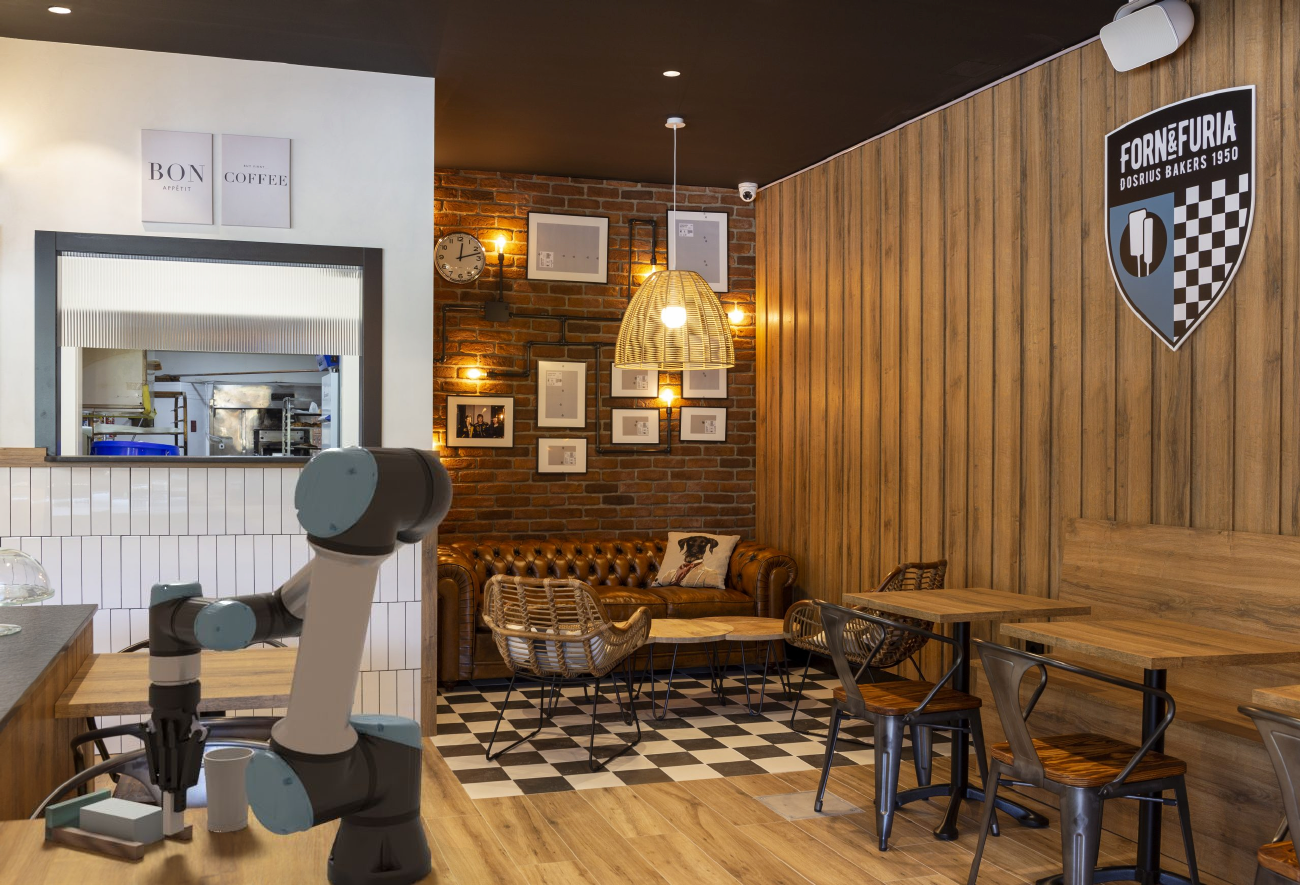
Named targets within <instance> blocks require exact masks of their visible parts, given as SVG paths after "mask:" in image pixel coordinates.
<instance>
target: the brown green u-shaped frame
mask: <svg viewBox="0 0 1300 885" xmlns="http://www.w3.org/2000/svg"><path fill="white" fill-rule="evenodd" d="M109 798H112V789H109V788H103V789H100V790H96V791H93V792H91V793H87V794H84V795H80V796H78V797H75V798H72V799H68V800H64V801H62V802H58V803H56V804H52V805H49V806H46V807H45V816H44V817H45V819H44V820H45V823H44V828H45V829H44V840H48V841H52V842H57V843H61V844H64V845H65V844H66V845H70V846H74V847H79V848H82V849H86V850H92V851H96V852H101V853H105V854H108V855H109V854H110V855H114V856H117V857H121V858H126V859H131V860H135V861H137V860H138V859H142V858H144V856H145V846H144V843H140V842H135V841H130V840H126V839H121V838H117V837H112V836H108V835H103V834H99V833H94V832H90V831H85V830H81V829H79V828H80V808H82V807H85V806H88V805H91V804H94V803H97V802H100V801H103V800H106V799H109ZM193 825H194V824H192V823H191V824H190V823H187V822H184V830H182V831H180V832H177V833H175V834H172V835H166V834H165V837H169V838H170V837H171V838H175V839H178V838H179V839H180V840H184V841H186V840H189V839H192V838H193V829H194V828H193V827H194V826H193Z"/></svg>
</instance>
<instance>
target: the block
mask: <svg viewBox="0 0 1300 885" xmlns="http://www.w3.org/2000/svg"><path fill="white" fill-rule="evenodd" d="M79 829H81V830H85V831H90V832H94V833H99V834H103V835H108V836H112V837H117V838H121V839H126V840H130V841H135V842H140V843H144V847H145V846H147V845H151V844H152V843H155V842H158V841H161V840H163V839H165V838H166V836H165V834H163V810H162V808H161V806H157V805H156V806H155V805H152V804H146V803H141V802H135V801H130V800H126V799H121V798H116V797H111V798H109V799H106V800H103V801H100V802H97V803H94V804H91V805H88V806H85V807H82V808H80V828H79ZM162 838H163V839H162ZM157 840H158V841H157Z"/></svg>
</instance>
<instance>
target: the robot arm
mask: <svg viewBox="0 0 1300 885" xmlns="http://www.w3.org/2000/svg"><path fill="white" fill-rule="evenodd" d="M453 490H454V488H453V481H452V479H451V476H450V473H449V472H448V470H447V468H446V465H444V463H442V462H441V460H439V458H437V457H436V456H434V455H433V454H432V453H430V452H429V451H426V450H423V449H419V448H414V447H378V446H373V447H372V446H357V445H347V446H345V447H331V448H327V449H323V450H322V451H319V453H317V454H316V455H315V456H313V457H312V458H310V460H309V461H307V463H306V464H305V466H303V469H302V470H301V472H300V475H299V476H298V480H297V483H296V485H295V489H294V498H293V499H294V500H293V502H294V505H293V506H294V509H295V510H298V512H297V513H296V516H295V517H296V519H297V520H298V522H299V524H300V526H301V527H302V528H303V529H304V530H305V532H306V537H305V538H306V539H305V541H306V542H307V544H308V545H309V546H310V547H311V549H312V551H314V553H315V555H314V557H313V558H312V559H310V561H308V562H307V563H306V564H305V565H303V567H302V568H300V569H299V570H298V571H297V572H295V574H293V575H292V576H291V577H289V579H288V580H287V581H286V582H284V583H283V584H282V585H280V587H278V588H277V589H275V590H274V591H269V592H261V593H254V594H247V595H246V594H245V595H244V594H243V595H236V596H227V597H217V598H216V597H204V593H203V588H202V587H203V586H202V584H201V583H200V582H199V581H196V580H190V579H189V580H185V579H183V580H181V579H180V580H169V581H168V580H166V581H159V582H156V583H155V584H153V585H152V586H151V589H150V596H149V598H150V599H149V601H150V602H149V606H148V621H149V623H148V633H149V634H148V637H149V639H148V640H149V642H148V644H149V645H148V646H149V648H148V649H149V654H148V680H150V681H151V682H150V684H149V685H148V707H150V708H151V709H152V711H151V713H150V718H149V719H148V720H146V721H144V722H140V723H139V724H138V729H139V731H140V733H141V736H142V738H143V743H144V744H143V745H144V750H145V756H146V762H147V768H148V769H147V770H148V775H149V776H148V777H149V781H150V784H151V785H152V786H155V785H156V786H157V787H158V789H159V790H160V792H161V793H160V801H161V802H160V807H161V808H162V810H163V834H166V835H172V834H175V833H177V832H180V831H182V830H184V823H185V811H186V810H187V803H188V802H187V796H188V795H187V792H188V789H190V788H193V787H195V786H197V785H198V784H199V778H200V773H201V768H202V763H203V755H204V754H205V747H206V744H207V740H208V739H209V736H211V734H212V733H211V732H212V729H211V727H210V726H205V727H204V726H203V724H201V722H199V718H200V717H199V714H198V712H197V707H198V705H199V704H200V703H201V701H202V682H201V680H200V679H198V678H199V677H200V676H201V675H202V674H201V673H202V648H203V649H206V650H207V649H208V650H210V651H215V652H219V653H221V652H223V651H224V652H225V651H226V652H234V651H238V650H241V649H242V648H244V647H245V646H246V645H248V644H249V645H250V644H255V643H260V642H261V643H262V642H266V641H273V640H274V641H275V640H282V639H289V638H299V643H298V647H297V654H296V659H295V663H294V670H293V676H292V681H291V687H290V691H289V692H290V693H289V695H288V696H289V697H288V703H287V707H286V708H287V709H286V714H285V716H284V717H282V718H281V719H279V720H277V721H276V722H275V723H274V724H273V725H272V728H271V732H270V737H269V743H268V747H267V749H264V750H263V749H261V750H259V751H258V752H257V753H254V756H253V757H252V758H250V760H249V761H248V764H247V766H246V770H245V791H246V795H247V799H248V802H249V806H250V808H251V811H252V813H253V816H255V818H256V819H257V821H258V823H259V824H261V825H262V827H263V828H265V829H266V830H268V831H269V832H270V833H272V834H275V835H281V836H287V835H291V834H294V833H297V832H307V831H309V830H310V829H312V828H314V827H317V826H320V825H323V824H326V823H329V822H333V821H335V820H338V819H340V820H339V821H340V823H339V826H338V829H337V832H336V835H335V838H334V841H333V843H332V847H331V849H330V853H329V855H328V859H327V862H326V863H327V867H326V868H327V869H326V870H327V871H326V876H327V880H328V881H329V883H331V884H333V885H413V884H416V883H417V882H420V881H422V880H423V879H424V878H426V877H427V876H428V875H429V874H430V873H431V871H432V851H431V848H430V846H429V845H428V844H429V843H428V840H427V836H426V832H425V829H424V826H423V821H422V819H421V818H422V817H421V801H422V800H421V799H422V798H421V796H422V769H423V768H422V767H423V750H424V746H423V745H422V743H423V742H422V740H423V739H422V728H421V725H420V724H419V722H417V721H416V720H414V719H411V718H409V717H404V716H400V715H393V714H381V713H358V714H352V713H353V712H352V711H353V705H354V700H355V696H356V690H357V685H358V680H359V674H360V669H361V664H362V659H363V654H364V648H365V643H366V639H367V632H368V628H369V622H370V616H371V612H372V607H373V602H374V595H375V590H376V585H377V580H378V575H379V569H380V566H381V565H382V564H383V563H385V561H387V560H388V559H389V558H391V556H393V555H394V554H395V553H396V552H398V551H399V550H400V549H402V547H403V546H405V545H414V544H415V545H416V544H417V543H419V542H421V541H422V540H423V539H424V538H425V537H427V536H428V535H430V534H431V533H432V532H433V531H434V530H435V529H436V528H438V527H439V525H440V524H441V523H442V522H443V520H444V519H445V518H446V516H447V515H448V513H449V510H450V508H451V506H452V501H453V495H454V492H453Z"/></svg>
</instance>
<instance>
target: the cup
mask: <svg viewBox="0 0 1300 885" xmlns="http://www.w3.org/2000/svg"><path fill="white" fill-rule="evenodd" d="M254 755H255V751H254V749H252V748H248V747H241V746H240V747H239V746H237V747H236V746H234V747H233V746H231V747H222V748H217V749H212V750H209V751H206V752H204V754H203V759H202V761H203V772H204V776H205V796H206V810H207V812H206V813H207V820H206V823H207V824H206V829H207V828H208V829H209V830H212V831H219V832H218V833H231V832H230V831H232V832H236V831H239V830H242V829H244V827H245V828H247V826H248V824H249V822H248V821H249V806H250V804H249V802H248V799H247V795H246V791H245V770H246V766H247V764H248V761H249V760H250V758H252V757H253V756H254ZM208 829H207V830H208ZM209 830H208V831H209ZM235 830H236V831H235ZM212 831H211V832H212ZM220 831H221V832H220Z"/></svg>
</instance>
